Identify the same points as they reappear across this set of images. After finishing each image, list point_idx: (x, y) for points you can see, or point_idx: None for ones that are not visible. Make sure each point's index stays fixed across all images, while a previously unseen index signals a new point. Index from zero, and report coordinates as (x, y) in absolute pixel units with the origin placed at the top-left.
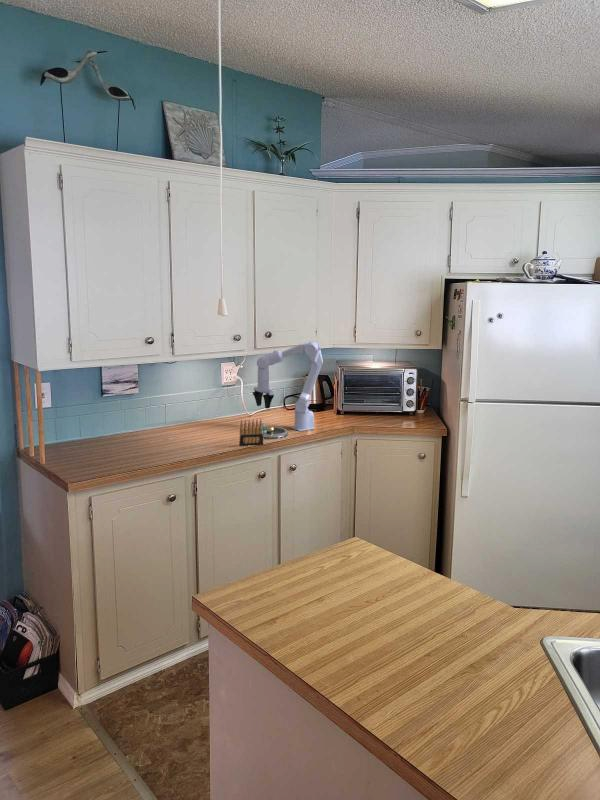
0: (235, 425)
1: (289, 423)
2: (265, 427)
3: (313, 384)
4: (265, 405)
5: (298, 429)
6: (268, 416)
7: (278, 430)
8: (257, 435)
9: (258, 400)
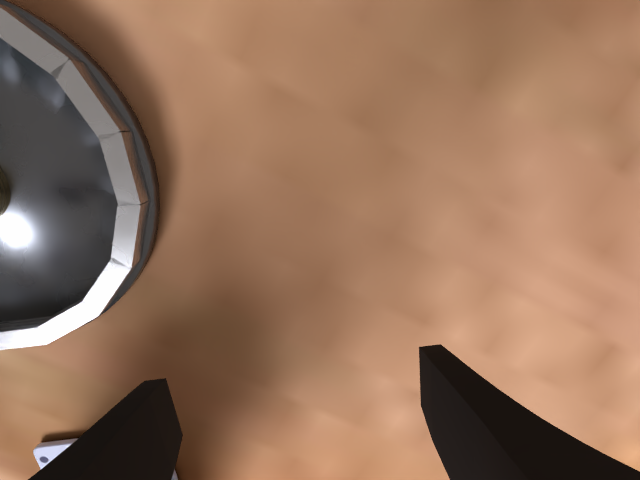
0: (504, 43)
1: (320, 477)
2: (116, 215)
3: None
4: (110, 415)
5: (64, 449)
6: (604, 445)
7: (59, 301)
8: None
9: (466, 448)
